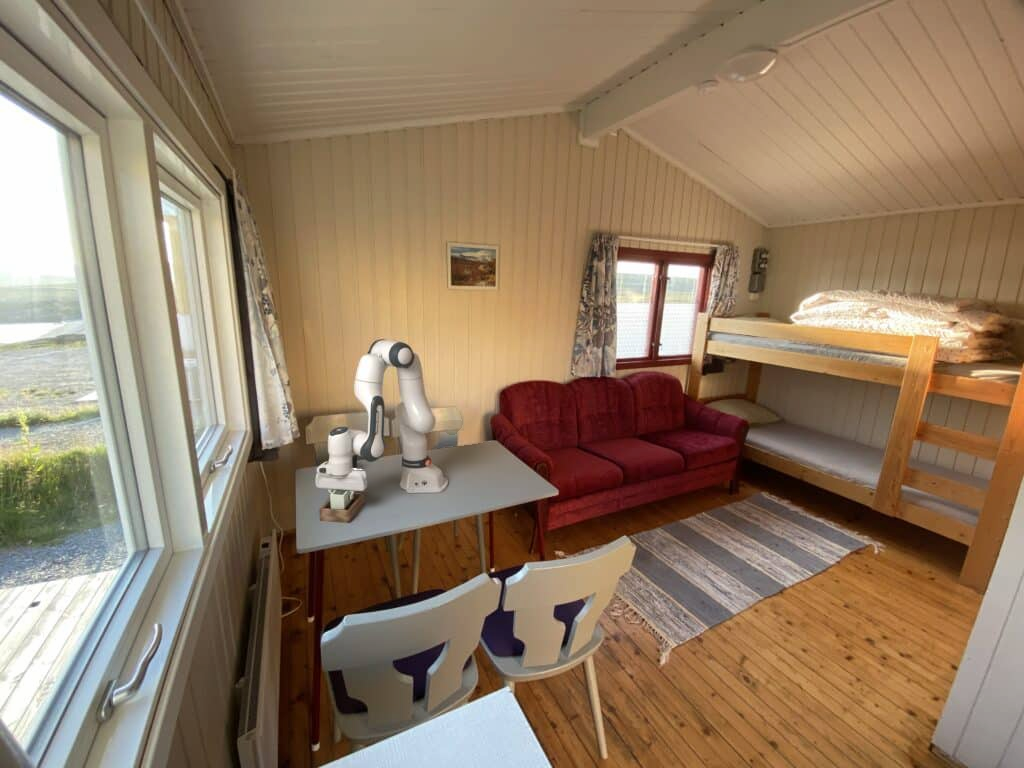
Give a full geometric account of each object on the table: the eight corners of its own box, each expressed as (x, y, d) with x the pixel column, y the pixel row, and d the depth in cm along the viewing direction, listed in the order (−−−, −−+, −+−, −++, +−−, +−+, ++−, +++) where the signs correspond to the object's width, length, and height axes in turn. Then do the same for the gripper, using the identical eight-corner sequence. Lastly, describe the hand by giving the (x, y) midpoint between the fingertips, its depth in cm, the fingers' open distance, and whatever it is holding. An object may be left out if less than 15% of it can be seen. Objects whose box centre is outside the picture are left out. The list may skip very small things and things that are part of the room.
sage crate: (353, 498, 180) (353, 485, 179) (344, 509, 171) (343, 495, 170) (340, 497, 180) (340, 484, 179) (330, 508, 172) (330, 494, 170)
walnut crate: (364, 504, 184) (364, 493, 183) (349, 523, 169) (349, 511, 168) (337, 502, 184) (336, 491, 183) (320, 520, 170) (319, 509, 169)
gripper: (369, 465, 175) (370, 496, 178) (320, 462, 176) (322, 492, 179) (363, 472, 169) (364, 504, 172) (312, 468, 170) (314, 500, 173)
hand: (342, 498), depth 175 cm, fingers closed on sage crate, 5 cm apart
